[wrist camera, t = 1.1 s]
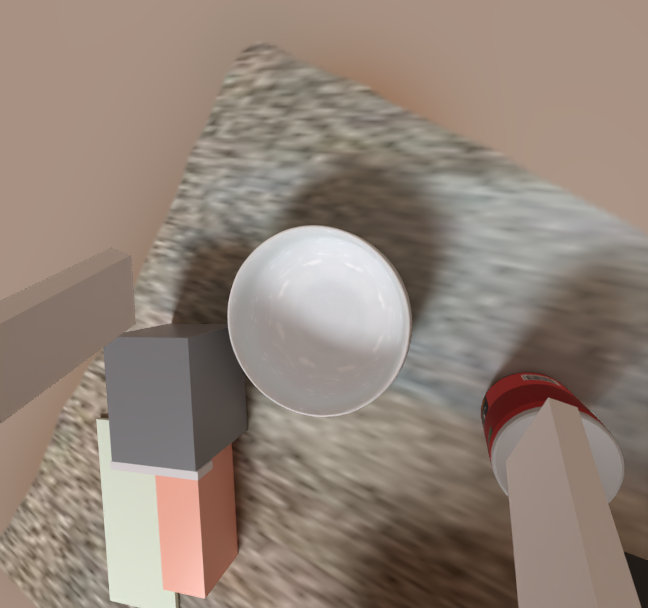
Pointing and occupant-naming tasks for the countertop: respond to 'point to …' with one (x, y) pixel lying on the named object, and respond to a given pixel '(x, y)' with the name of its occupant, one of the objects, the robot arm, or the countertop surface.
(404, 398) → the countertop surface
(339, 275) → the cereal bowl
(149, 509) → the pale green flat board
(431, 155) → the countertop surface
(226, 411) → the grey block
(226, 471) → the long pink block
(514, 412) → the canned food
